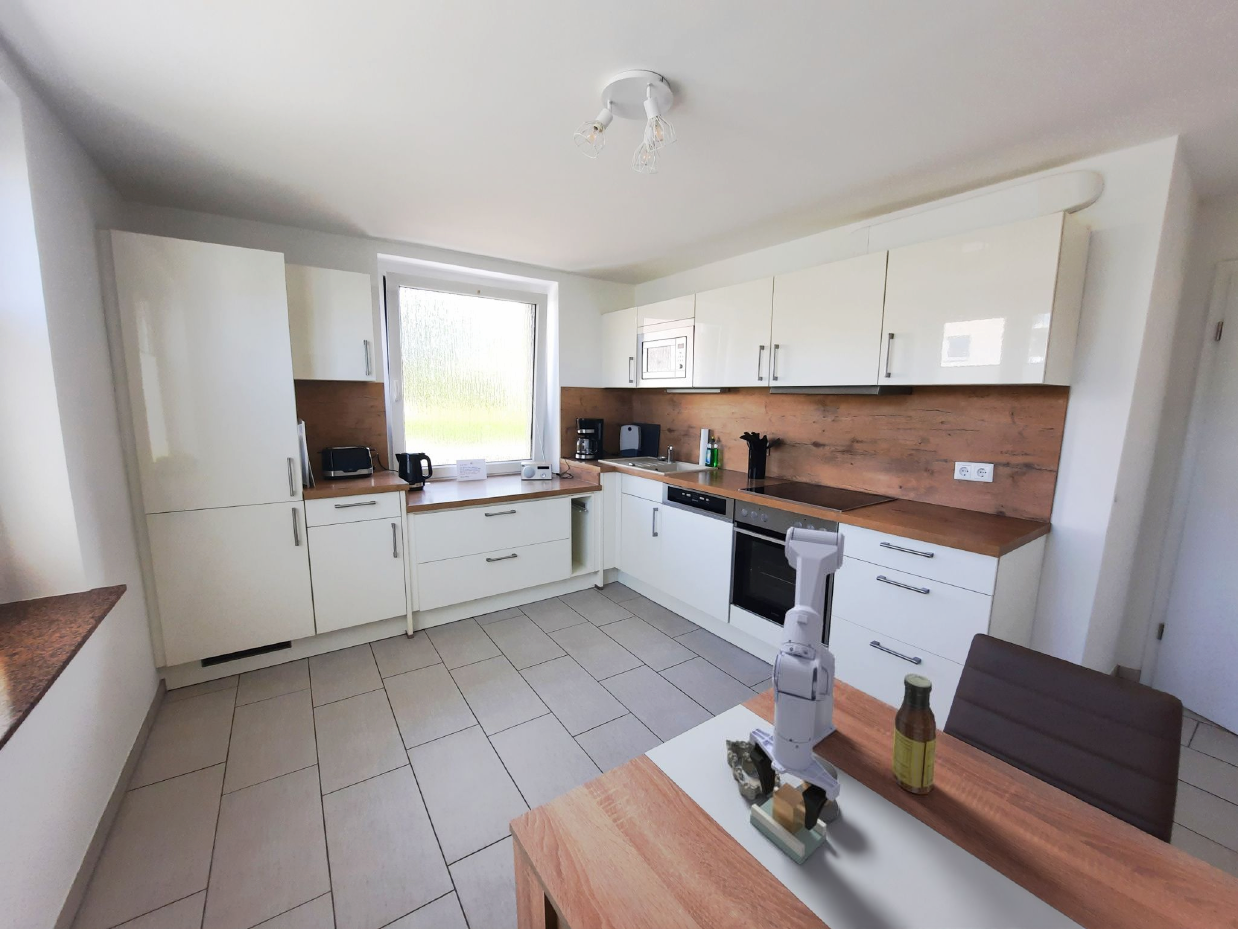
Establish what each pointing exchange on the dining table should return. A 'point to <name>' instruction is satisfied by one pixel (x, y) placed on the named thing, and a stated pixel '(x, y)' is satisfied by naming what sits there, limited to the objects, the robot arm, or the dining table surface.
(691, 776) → the dining table surface
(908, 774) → the sauce bottle
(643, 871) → the dining table surface
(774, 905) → the dining table surface
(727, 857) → the dining table surface
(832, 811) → the spool
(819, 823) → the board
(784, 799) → the wooden block
